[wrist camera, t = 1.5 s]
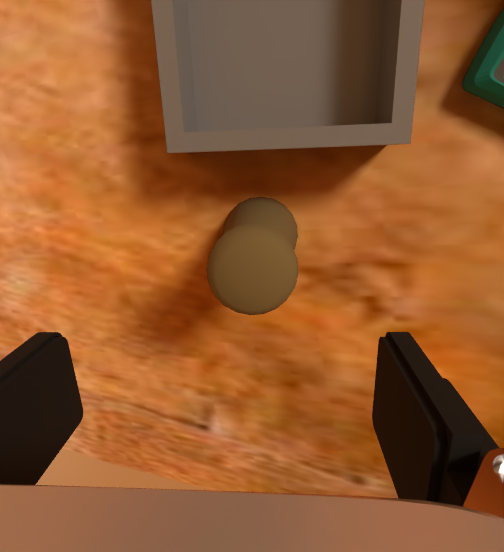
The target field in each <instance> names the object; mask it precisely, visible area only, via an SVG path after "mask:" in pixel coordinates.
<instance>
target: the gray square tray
mask: <svg viewBox="0 0 504 552" xmlns="http://www.w3.org/2000/svg"><path fill="white" fill-rule="evenodd" d="M424 1H425V0H151V4H152V13H153V23H154V32H155V42H156V51H157V61H158V70H159V80H160V89H161V99H162V108H163V118H164V127H165V137H166V146H167V153H196V152H222V151H248V150H274V149H300V148H326V147H352V146H378V145H398V144H410V143H411V132H412V122H413V112H414V102H415V92H416V82H417V72H418V61H419V51H420V41H421V31H422V21H423V11H424Z"/></svg>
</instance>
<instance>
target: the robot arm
mask: <svg viewBox="0 0 504 552" xmlns="http://www.w3.org/2000/svg"><path fill="white" fill-rule="evenodd" d="M82 417H83V407H82V403H81V398H80V394H79V389H78V385H77V381H76V376H75V372H74V367H73V363H72V358H71V354H70V350H69V345H68V341H67V339H66V338H65V337H62V335H61V334H60V333H58V332H39V333H37V334H35V335H34V336H32V337H31V338H30V339H28V340H27V341H26V342H24V343H23V344H22V345H20V346H19V347H18V348H17V349H15V350H14V351H13V352H11V353H10V354H9V355H7V356H6V357H5V358H3V359H2V360H1V361H0V552H504V448H499V447H498V446H497V444H496V443H495V442H494V440H493V439H492V438H491V436H490V435H489V434H488V432H487V431H486V430H485V428H484V427H483V426H482V424H481V423H480V422H479V420H478V419H477V417H476V416H475V415H474V413H473V412H472V411H471V409H470V408H469V407H468V405H467V404H466V403H465V401H464V400H463V399H462V397H461V396H460V395H459V393H458V392H457V391H456V389H455V388H454V387H453V385H452V384H451V383H450V382H449V381H448V380H447V379H445V378H442V377H441V376H440V374H439V373H438V371H437V370H436V369H435V367H434V366H433V365H432V363H431V362H430V360H429V359H428V358H427V356H426V355H425V354H424V352H423V351H422V349H421V348H420V347H419V345H418V344H417V343H416V341H415V340H414V338H413V337H412V336H411V334H410V333H409V332H387V333H386V336H385V337H380V339H379V344H378V356H377V367H376V378H375V390H374V401H373V412H372V419H373V426H374V429H375V432H376V435H377V438H378V441H379V444H380V446H381V449H382V452H383V455H384V458H385V461H386V463H387V466H388V469H389V472H390V475H391V478H392V481H393V483H394V486H395V489H396V492H397V495H398V498H399V499H397V498H383V497H369V496H349V495H322V494H295V493H268V492H240V491H209V490H177V489H175V490H174V489H146V488H113V487H80V486H47V485H35V484H36V483H37V482H38V480H39V479H40V477H41V476H42V475H43V473H44V472H45V471H46V469H47V468H48V466H49V465H50V464H51V462H52V461H53V460H54V458H55V457H56V455H57V454H58V453H59V451H60V450H61V449H62V447H63V446H64V444H65V443H66V442H67V440H68V439H69V437H70V436H71V435H72V433H73V432H74V431H75V429H76V428H77V426H78V425H79V424H80V422H81V420H82Z"/></svg>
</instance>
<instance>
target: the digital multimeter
mask: <svg viewBox="0 0 504 552" xmlns="http://www.w3.org/2000/svg"><path fill="white" fill-rule="evenodd" d="M462 86H463V88H464V90H465V91H467V92H470V93H472V94H474V95H476V96H478V97H480V98H483V99H485V100H487V101H489V102H491V103H493V104H495V105H498V106H500V107H502V108H504V8H503V10H502V11H501V13H500V14H499V16H498V17H497V19H496V21H495V22H494V24H493V26H492V27H491V29H490V31H489V32H488V34H487V36H486V37H485V39H484V41H483V43H482V45H481V46H480V48H479V50H478V52H477V54H476V56H475V58H474V60H473V62H472V64H471V66H470V68H469V70H468V72H467V74H466V76H465V78H464V80H463V83H462Z"/></svg>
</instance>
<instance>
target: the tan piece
mask: <svg viewBox="0 0 504 552" xmlns="http://www.w3.org/2000/svg"><path fill="white" fill-rule="evenodd" d="M297 237H298V234H297V224H296V222H295V220H294V217H293V215H292V214H291V212H290V211H289V210H288V209H287V208H286V207H285V206H284V205H283V204H281V203H279V202H277V201H276V200H274V199H270V198H265V197H257V198H250V199H248V200H245V201H243V202H241V203H239V204H238V205H237V206H236V207H235V208H234V209H233V210H232V211H231V212H230V214H229V216H228V218H227V220H226V221H225V227H224V233H223V235H222V236H221V237H220V238H219V239H218V240H217V241H216V242H215V244H214V246H213V248H212V250H211V252H210V253H209V256H208V262H207V268H206V269H207V275H208V281H209V285H210V287H211V289H212V291H213V293H214V295H215V297H216V298H217V299H218V300H219V301H220V302H221V303H222V304H223V305H224V306H226V307H228V308H230V309H231V310H233V311H235V312H238V313H242V314H247V315H256V314H264V313H267V312H269V311H272V310H275V309H276V308H278V307H279V306H280V305H281V304H283V303H284V302H285V301H286V300H287V299H288V297H289V295H290V294H291V292H292V291H293V289H294V288H295V285H296V281H297V277H298V265H297V257H296V255H295V253H294V249H295V246H296V242H297Z"/></svg>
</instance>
